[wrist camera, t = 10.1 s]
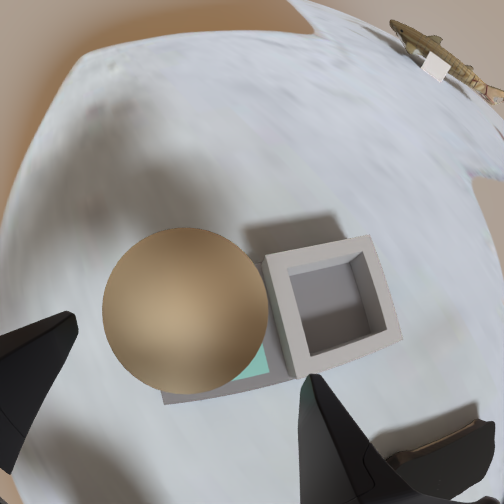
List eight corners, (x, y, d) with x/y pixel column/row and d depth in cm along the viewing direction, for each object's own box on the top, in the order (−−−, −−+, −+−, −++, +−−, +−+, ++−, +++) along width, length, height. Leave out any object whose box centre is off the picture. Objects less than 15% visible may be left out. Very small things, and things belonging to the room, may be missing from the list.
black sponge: (362, 520, 14) (378, 535, 10) (375, 455, 17) (396, 466, 13) (470, 470, 15) (489, 475, 11) (481, 412, 18) (503, 413, 14)
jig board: (167, 402, 17) (155, 411, 14) (145, 288, 20) (131, 275, 17) (381, 345, 20) (404, 342, 17) (351, 247, 23) (369, 230, 20)
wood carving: (491, 129, 39) (513, 102, 29) (376, 43, 45) (389, 9, 34) (489, 117, 42) (509, 92, 32) (385, 39, 48) (397, 9, 37)
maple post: (193, 381, 17) (144, 418, 6) (163, 319, 19) (84, 268, 8) (256, 350, 18) (299, 344, 7) (224, 290, 20) (221, 204, 9)
